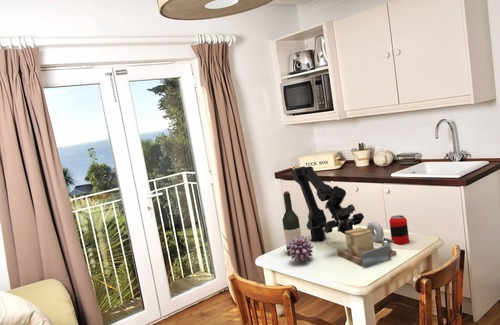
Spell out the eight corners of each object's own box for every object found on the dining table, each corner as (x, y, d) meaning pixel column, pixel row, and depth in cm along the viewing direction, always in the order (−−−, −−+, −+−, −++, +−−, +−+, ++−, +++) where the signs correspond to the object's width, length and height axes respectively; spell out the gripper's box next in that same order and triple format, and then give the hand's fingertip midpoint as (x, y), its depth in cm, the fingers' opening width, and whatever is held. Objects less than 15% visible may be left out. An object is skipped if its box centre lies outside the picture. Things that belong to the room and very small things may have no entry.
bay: (337, 256, 190) (335, 242, 189) (361, 248, 194) (359, 235, 193) (365, 269, 171) (363, 253, 170) (391, 260, 175) (389, 245, 174)
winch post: (379, 256, 182) (377, 238, 181) (388, 253, 184) (386, 235, 183) (389, 260, 176) (387, 242, 175) (399, 257, 178) (396, 239, 177)
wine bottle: (290, 249, 209) (281, 190, 206) (306, 249, 205) (297, 189, 202) (284, 255, 202) (274, 194, 198) (300, 255, 198) (291, 193, 195)
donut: (386, 243, 196) (383, 222, 195) (380, 245, 195) (378, 224, 194) (372, 238, 205) (369, 218, 204) (366, 240, 204) (363, 220, 203)
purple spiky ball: (317, 256, 194) (314, 231, 192) (312, 266, 182) (308, 240, 181) (293, 257, 198) (289, 232, 196) (286, 267, 187) (282, 241, 185)
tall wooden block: (348, 256, 186) (344, 231, 184) (363, 251, 188) (360, 227, 187) (359, 261, 178) (355, 235, 177) (375, 256, 181) (371, 230, 180)
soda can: (412, 242, 192) (409, 217, 190) (396, 246, 191) (393, 220, 189) (404, 238, 199) (401, 213, 198) (389, 241, 198) (385, 216, 197)
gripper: (323, 204, 186) (341, 233, 177) (358, 195, 193) (377, 223, 184) (317, 218, 195) (333, 247, 185) (351, 209, 201) (368, 236, 192)
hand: (353, 238), depth 186 cm, fingers closed, pressing on tall wooden block
